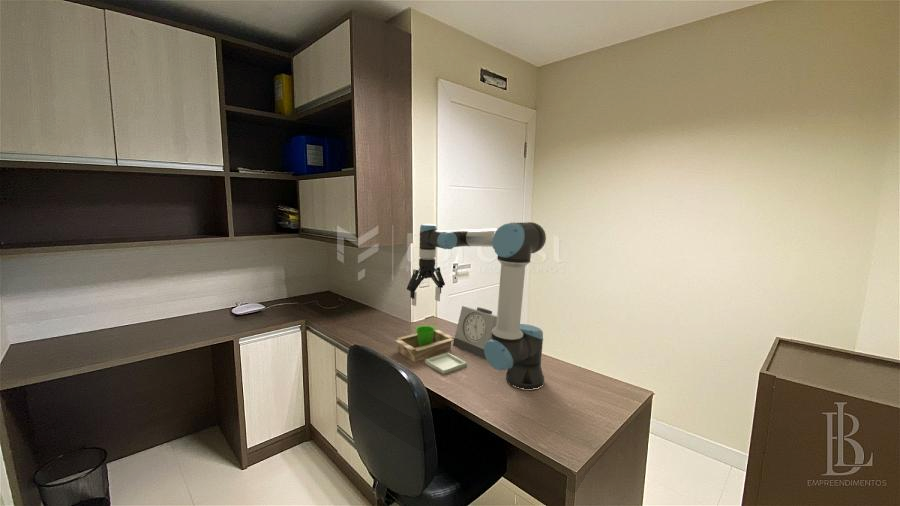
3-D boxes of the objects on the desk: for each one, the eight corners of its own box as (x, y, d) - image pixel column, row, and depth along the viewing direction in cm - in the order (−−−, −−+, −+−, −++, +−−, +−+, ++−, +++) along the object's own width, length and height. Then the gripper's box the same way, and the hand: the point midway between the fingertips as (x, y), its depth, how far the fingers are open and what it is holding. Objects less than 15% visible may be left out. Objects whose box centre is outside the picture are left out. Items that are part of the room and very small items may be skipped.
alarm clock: (452, 345, 181) (454, 306, 178) (473, 337, 192) (475, 300, 189) (484, 359, 167) (486, 316, 164) (505, 350, 178) (507, 310, 175)
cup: (431, 356, 168) (432, 333, 167) (412, 353, 170) (413, 331, 168) (436, 348, 177) (437, 326, 175) (418, 346, 179) (418, 324, 177)
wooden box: (456, 350, 175) (457, 338, 174) (413, 364, 159) (413, 351, 158) (434, 339, 188) (435, 328, 187) (392, 351, 172) (392, 339, 171)
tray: (466, 366, 159) (466, 362, 159) (443, 374, 151) (443, 370, 151) (447, 355, 169) (447, 352, 169) (425, 363, 161) (425, 359, 161)
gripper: (443, 254, 178) (441, 296, 181) (399, 258, 162) (398, 304, 165) (453, 257, 172) (451, 300, 175) (409, 261, 156) (407, 309, 159)
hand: (425, 302), depth 170 cm, fingers open, 13 cm apart
